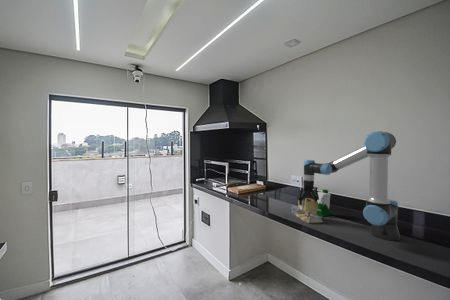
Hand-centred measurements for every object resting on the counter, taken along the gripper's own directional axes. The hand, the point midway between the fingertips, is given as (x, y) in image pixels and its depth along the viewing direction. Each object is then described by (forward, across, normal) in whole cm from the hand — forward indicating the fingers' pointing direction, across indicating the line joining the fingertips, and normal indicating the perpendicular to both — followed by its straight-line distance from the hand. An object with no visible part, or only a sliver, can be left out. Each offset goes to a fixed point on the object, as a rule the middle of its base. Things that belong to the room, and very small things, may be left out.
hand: (307, 209), depth 158 cm
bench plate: (+7, 0, 0) cm, 7 cm away
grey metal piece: (+6, 0, 0) cm, 6 cm away
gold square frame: (0, 0, 0) cm, 0 cm away
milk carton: (+7, -17, -5) cm, 19 cm away
